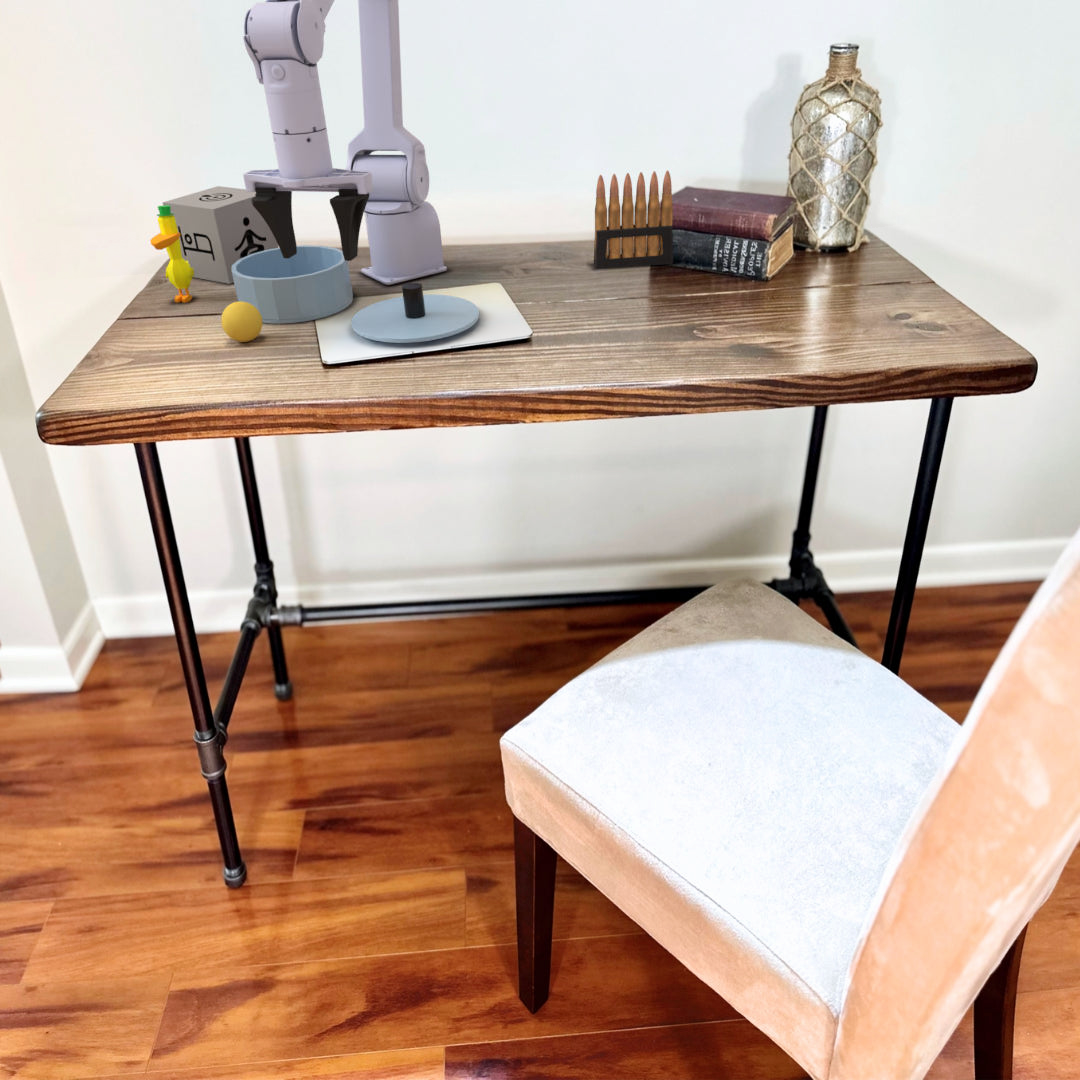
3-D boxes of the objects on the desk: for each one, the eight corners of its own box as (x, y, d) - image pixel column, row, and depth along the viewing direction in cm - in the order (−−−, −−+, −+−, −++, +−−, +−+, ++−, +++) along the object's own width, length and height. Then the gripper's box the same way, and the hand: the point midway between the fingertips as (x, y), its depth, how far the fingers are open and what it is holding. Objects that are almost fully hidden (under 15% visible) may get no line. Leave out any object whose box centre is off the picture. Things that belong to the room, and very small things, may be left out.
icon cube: (180, 274, 138) (162, 202, 132) (233, 255, 145) (218, 186, 139) (229, 283, 133) (213, 209, 127) (281, 263, 140) (268, 192, 135)
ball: (257, 330, 117) (249, 293, 114) (271, 340, 114) (264, 302, 111) (220, 339, 115) (211, 302, 112) (234, 350, 112) (225, 312, 109)
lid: (438, 294, 125) (435, 258, 123) (504, 325, 115) (501, 286, 112) (331, 322, 118) (325, 284, 116) (390, 358, 107) (384, 317, 105)
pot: (324, 279, 133) (317, 238, 130) (372, 305, 123) (366, 262, 120) (224, 302, 126) (214, 260, 123) (266, 332, 116) (257, 287, 113)
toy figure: (183, 309, 125) (159, 214, 118) (157, 309, 125) (132, 214, 119) (207, 292, 130) (185, 200, 124) (182, 292, 131) (160, 200, 124)
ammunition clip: (670, 259, 133) (673, 168, 127) (673, 263, 132) (676, 171, 125) (593, 264, 133) (592, 173, 126) (595, 268, 131) (594, 176, 125)
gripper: (219, 136, 102) (246, 265, 109) (346, 137, 98) (365, 270, 105) (252, 124, 107) (276, 247, 115) (373, 124, 104) (389, 251, 111)
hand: (320, 257), depth 110 cm, fingers open, 7 cm apart
